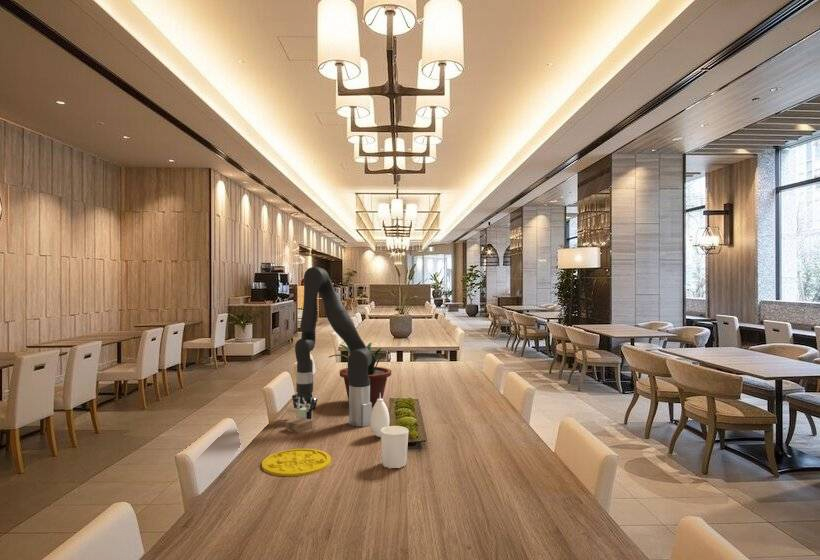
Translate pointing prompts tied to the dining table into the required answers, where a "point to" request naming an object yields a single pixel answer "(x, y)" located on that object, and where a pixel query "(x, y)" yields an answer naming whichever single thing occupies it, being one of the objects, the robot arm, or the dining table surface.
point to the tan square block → (298, 425)
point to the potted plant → (370, 376)
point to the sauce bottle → (379, 417)
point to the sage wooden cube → (302, 413)
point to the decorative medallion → (296, 462)
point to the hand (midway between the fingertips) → (304, 418)
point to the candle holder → (394, 446)
